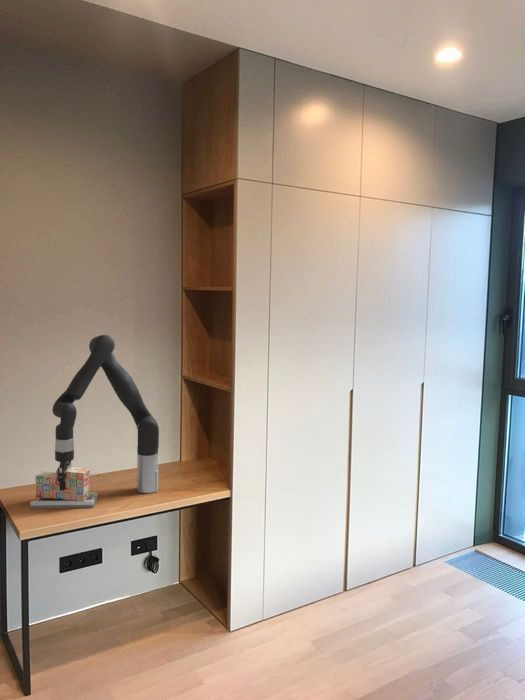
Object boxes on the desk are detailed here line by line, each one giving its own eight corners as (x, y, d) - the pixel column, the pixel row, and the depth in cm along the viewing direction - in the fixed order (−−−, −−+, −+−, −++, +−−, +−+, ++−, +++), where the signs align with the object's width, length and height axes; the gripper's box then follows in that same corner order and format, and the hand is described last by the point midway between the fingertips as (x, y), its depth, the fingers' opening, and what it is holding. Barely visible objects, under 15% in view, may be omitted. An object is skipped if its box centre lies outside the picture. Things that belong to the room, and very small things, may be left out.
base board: (97, 498, 244) (97, 492, 244) (93, 507, 234) (93, 501, 234) (37, 499, 241) (37, 493, 241) (30, 508, 231) (30, 502, 231)
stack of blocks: (35, 497, 236) (35, 468, 235) (43, 492, 242) (43, 464, 241) (83, 501, 233) (83, 472, 232) (90, 496, 239) (90, 468, 238)
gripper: (59, 444, 242) (59, 481, 244) (50, 453, 228) (51, 493, 230) (77, 444, 243) (77, 481, 245) (69, 453, 229) (70, 493, 230)
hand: (64, 486), depth 237 cm, fingers closed on stack of blocks, 7 cm apart
